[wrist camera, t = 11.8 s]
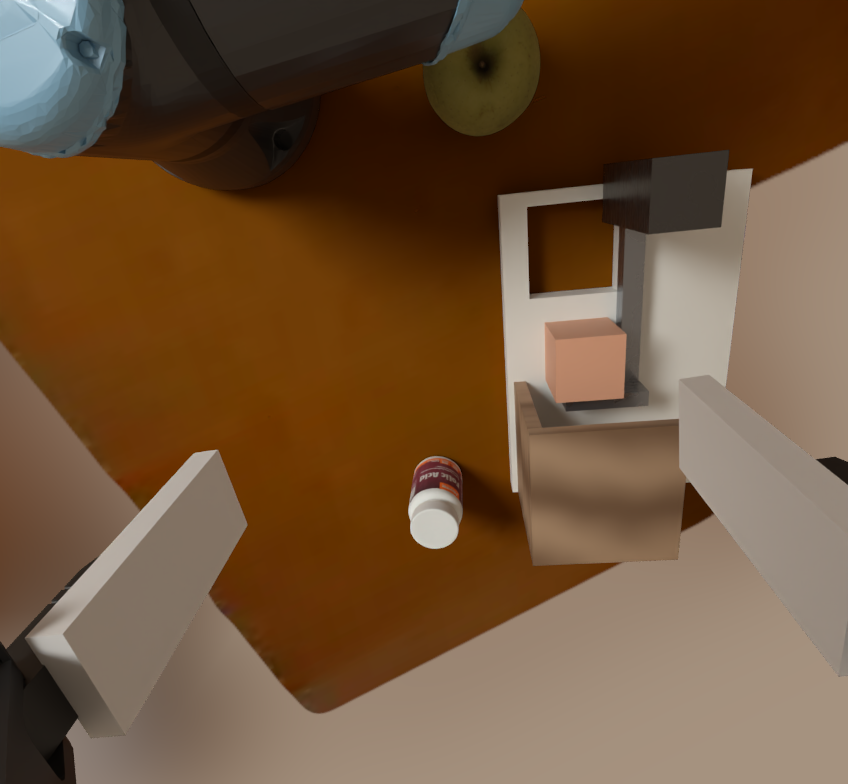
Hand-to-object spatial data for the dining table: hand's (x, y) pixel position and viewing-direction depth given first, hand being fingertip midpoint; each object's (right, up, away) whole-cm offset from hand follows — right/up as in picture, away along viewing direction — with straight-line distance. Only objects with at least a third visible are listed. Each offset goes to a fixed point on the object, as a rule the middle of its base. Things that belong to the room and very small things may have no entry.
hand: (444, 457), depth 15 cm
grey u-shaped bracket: (+14, +10, +26) cm, 31 cm away
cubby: (+13, -2, +31) cm, 33 cm away
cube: (+12, +5, +28) cm, 31 cm away
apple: (+3, +25, +23) cm, 34 cm away
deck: (+15, +6, +30) cm, 34 cm away
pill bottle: (+1, -6, +36) cm, 36 cm away
